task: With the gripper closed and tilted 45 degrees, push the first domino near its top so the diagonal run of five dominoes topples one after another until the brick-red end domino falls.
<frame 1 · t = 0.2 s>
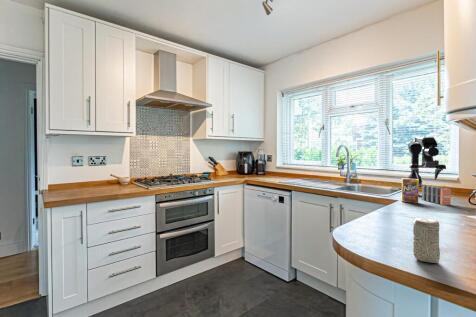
hand: (426, 179, 165), 14 cm above the counter, tool pointing down, fingers open, 9 cm apart
candy box: (409, 202, 161), on the counter
carving: (425, 261, 72), on the counter
domino 4: (440, 203, 157), on the counter
domino 1: (426, 200, 168), on the counter
end domino: (445, 204, 153), on the counter
domino 2: (431, 201, 164), on the counter
domino 3: (435, 202, 160), on the counter
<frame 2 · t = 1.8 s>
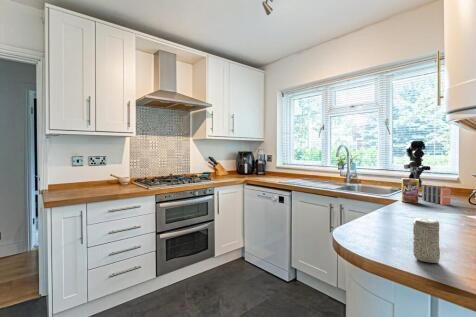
hand: (416, 179, 177), 13 cm above the counter, tool pointing down, fingers closed
nothing on the counter moved.
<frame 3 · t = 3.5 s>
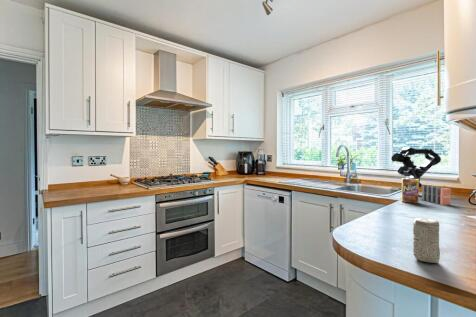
hand: (418, 178, 176), 14 cm above the counter, tool tilted 45°, fingers closed
nothing on the counter moved.
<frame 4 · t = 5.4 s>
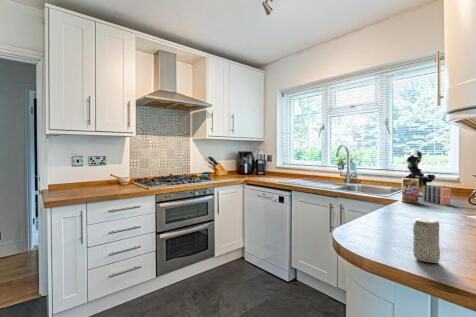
hand: (425, 188, 168), 8 cm above the counter, tool tilted 45°, fingers closed
domino 1: (426, 200, 168), on the counter, tilted 6°
everything else where it was.
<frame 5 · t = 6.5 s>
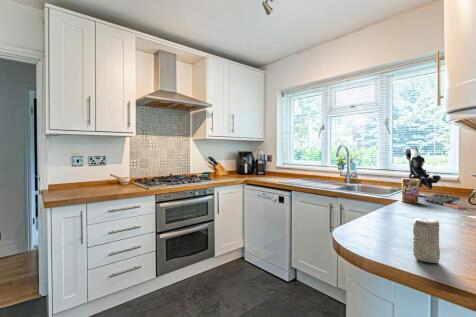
hand: (431, 189, 164), 8 cm above the counter, tool tilted 45°, fingers closed
domino 4: (442, 202, 155), point 1 cm above the counter, tilted 64°, touching domino 3, end domino
domino 1: (428, 199, 167), point 1 cm above the counter, tilted 65°, touching domino 2
end domino: (446, 204, 152), point 1 cm above the counter, tilted 90°, touching domino 4
domino 2: (432, 200, 163), point 1 cm above the counter, tilted 64°, touching domino 1
domino 3: (437, 201, 159), point 1 cm above the counter, tilted 64°, touching domino 4
everything else where it was.
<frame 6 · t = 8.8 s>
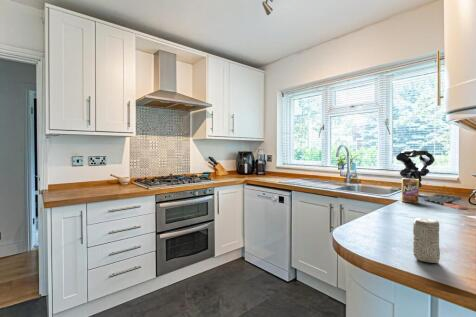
hand: (420, 181, 174), 12 cm above the counter, tool tilted 45°, fingers closed
domino 4: (443, 202, 155), point 1 cm above the counter, tilted 64°, touching domino 3, end domino
domino 1: (428, 199, 166), point 1 cm above the counter, tilted 65°
domino 2: (433, 200, 162), point 1 cm above the counter, tilted 64°, touching domino 3
domino 3: (438, 201, 158), point 1 cm above the counter, tilted 64°, touching domino 2, domino 4
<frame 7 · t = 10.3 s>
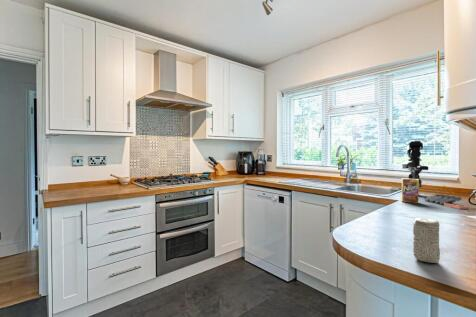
hand: (414, 179, 179), 13 cm above the counter, tool pointing down, fingers closed
domino 4: (443, 202, 155), point 1 cm above the counter, tilted 64°, touching domino 3, end domino
domino 1: (428, 199, 166), point 1 cm above the counter, tilted 65°, touching domino 2
domino 2: (433, 200, 162), point 1 cm above the counter, tilted 64°, touching domino 1, domino 3
everything else where it was.
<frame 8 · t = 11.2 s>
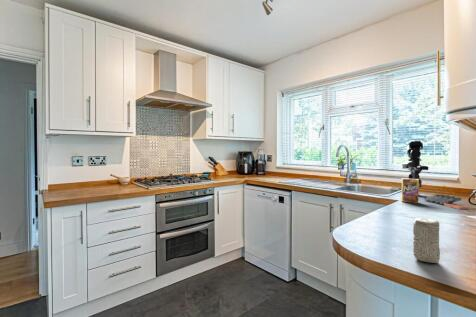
hand: (414, 179, 179), 13 cm above the counter, tool pointing down, fingers closed
domino 4: (443, 203, 154), point 1 cm above the counter, tilted 65°, touching domino 3
end domino: (448, 204, 151), point 1 cm above the counter, tilted 89°
everything else where it was.
at the end: end domino tilted 89°; domino 3 tilted 65°; candy box moved 0.2 cm from its start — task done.
